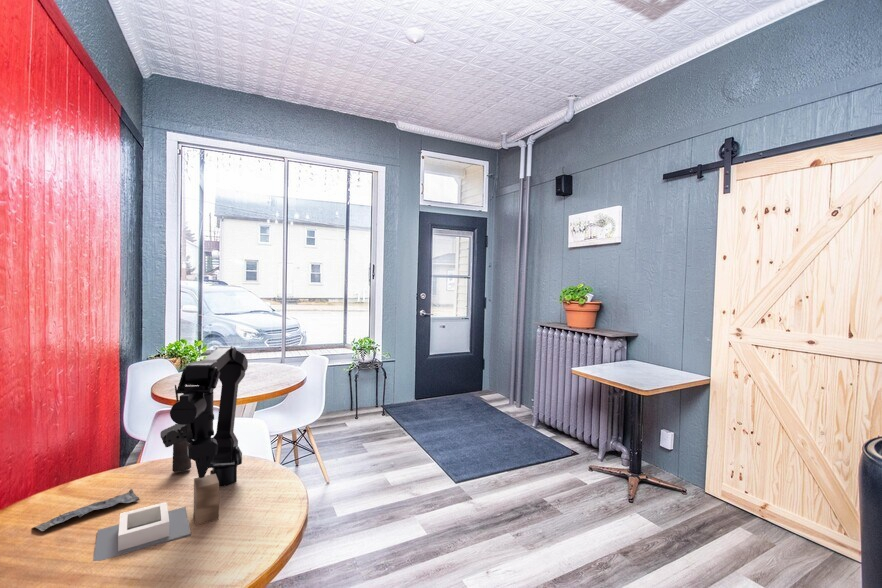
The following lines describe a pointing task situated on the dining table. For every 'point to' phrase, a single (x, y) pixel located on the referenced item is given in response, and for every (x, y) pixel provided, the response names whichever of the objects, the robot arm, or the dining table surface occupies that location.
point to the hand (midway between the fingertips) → (200, 470)
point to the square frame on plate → (141, 530)
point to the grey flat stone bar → (90, 509)
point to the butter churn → (180, 453)
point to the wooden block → (206, 499)
